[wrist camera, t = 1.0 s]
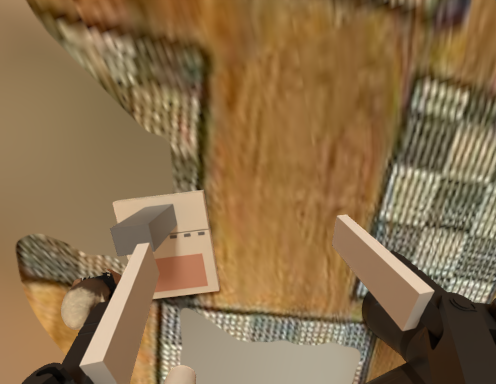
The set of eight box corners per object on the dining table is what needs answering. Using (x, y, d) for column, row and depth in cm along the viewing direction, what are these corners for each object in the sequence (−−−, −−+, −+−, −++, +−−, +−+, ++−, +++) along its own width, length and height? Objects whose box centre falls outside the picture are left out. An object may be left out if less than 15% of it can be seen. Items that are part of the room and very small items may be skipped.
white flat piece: (220, 285, 42) (219, 291, 41) (142, 295, 42) (138, 301, 40) (210, 226, 39) (208, 230, 38) (127, 236, 39) (122, 240, 38)
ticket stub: (209, 225, 39) (197, 256, 28) (126, 235, 39) (80, 271, 28) (203, 189, 38) (187, 207, 26) (117, 200, 38) (64, 222, 26)
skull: (144, 314, 42) (84, 360, 35) (126, 297, 49) (73, 333, 42) (121, 264, 39) (51, 303, 32) (106, 254, 46) (45, 284, 39)
